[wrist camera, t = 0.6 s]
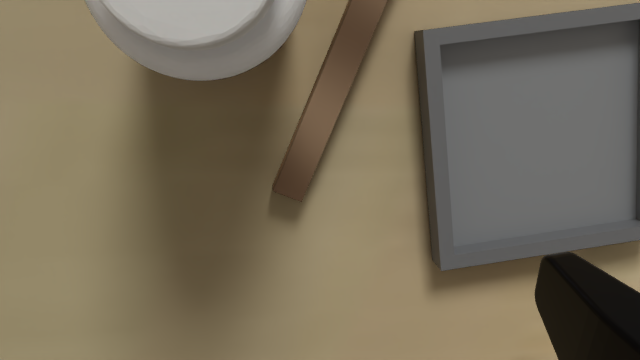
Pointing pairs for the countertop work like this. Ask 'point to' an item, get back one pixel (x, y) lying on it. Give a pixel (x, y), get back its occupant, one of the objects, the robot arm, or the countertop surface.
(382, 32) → the countertop surface
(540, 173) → the square tray
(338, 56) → the strip
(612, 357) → the robot arm
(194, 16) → the supplement bottle
